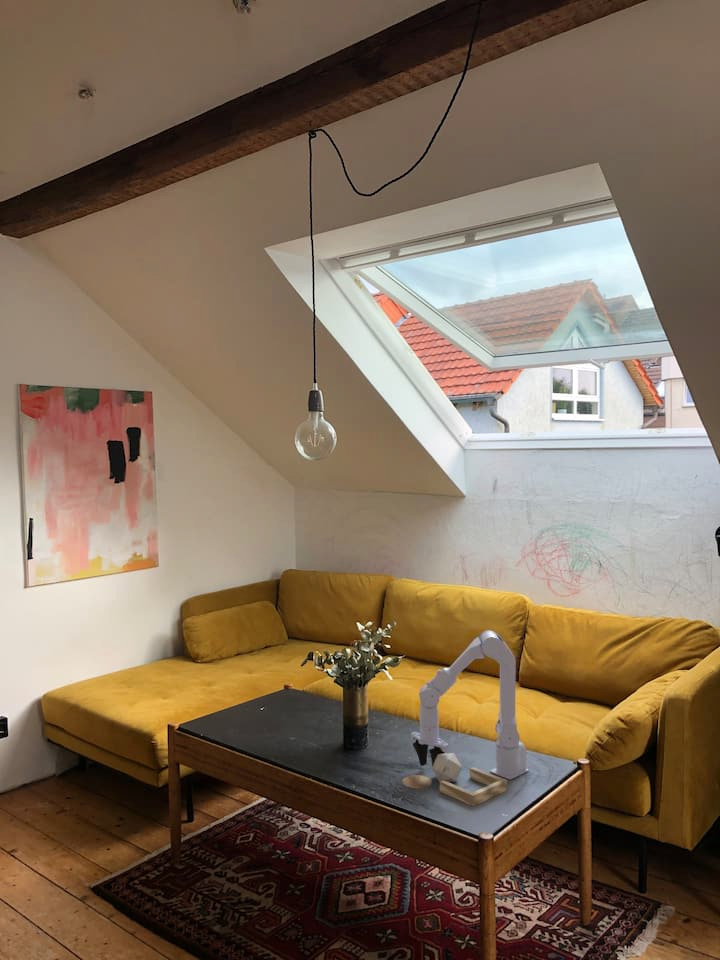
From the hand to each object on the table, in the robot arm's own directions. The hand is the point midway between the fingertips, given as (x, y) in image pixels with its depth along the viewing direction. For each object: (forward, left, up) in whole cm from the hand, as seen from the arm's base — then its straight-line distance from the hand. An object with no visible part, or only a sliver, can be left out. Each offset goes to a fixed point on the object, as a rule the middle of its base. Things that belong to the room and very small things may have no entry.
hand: (429, 767), depth 243 cm
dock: (0, +17, -2) cm, 17 cm away
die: (0, +7, -2) cm, 8 cm away
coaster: (+7, +2, -2) cm, 8 cm away
